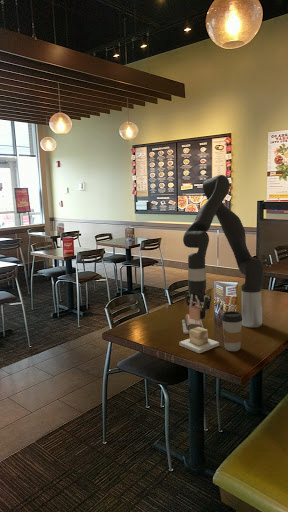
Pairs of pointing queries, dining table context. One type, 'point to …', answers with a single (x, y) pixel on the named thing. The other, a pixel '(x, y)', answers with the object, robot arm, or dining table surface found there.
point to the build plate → (199, 348)
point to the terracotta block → (195, 313)
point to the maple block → (198, 335)
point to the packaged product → (190, 324)
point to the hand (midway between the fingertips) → (197, 317)
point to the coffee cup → (232, 330)
